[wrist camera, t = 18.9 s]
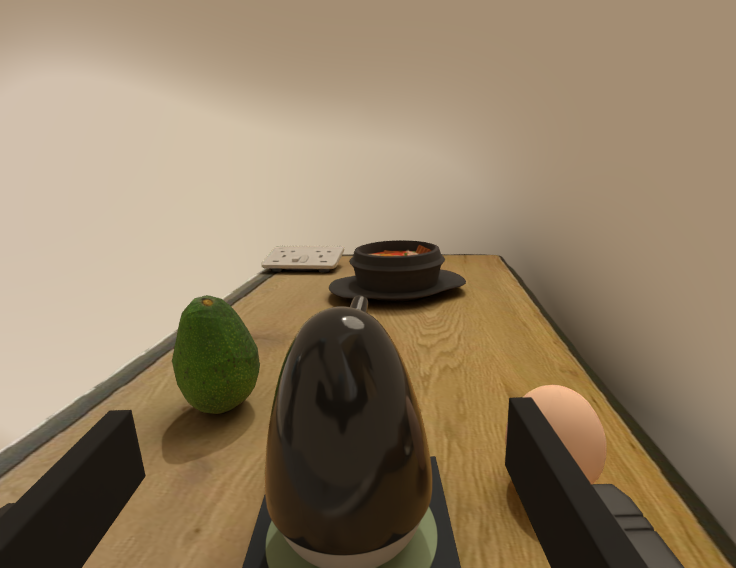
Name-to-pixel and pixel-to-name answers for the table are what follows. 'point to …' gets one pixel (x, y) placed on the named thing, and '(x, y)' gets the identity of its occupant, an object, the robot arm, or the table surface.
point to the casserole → (396, 272)
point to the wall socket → (303, 258)
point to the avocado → (214, 356)
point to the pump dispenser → (346, 444)
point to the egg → (573, 426)
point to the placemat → (413, 564)
